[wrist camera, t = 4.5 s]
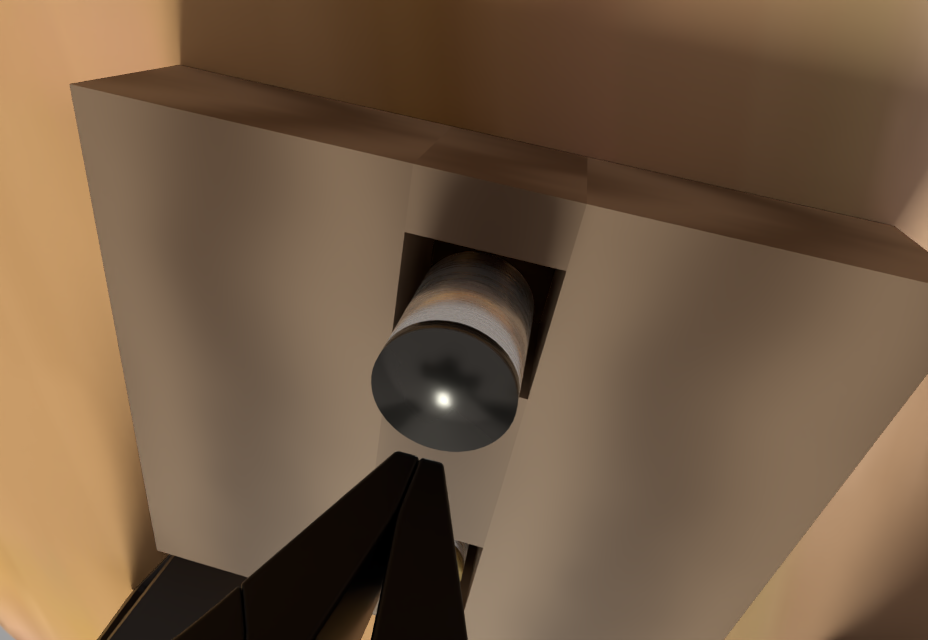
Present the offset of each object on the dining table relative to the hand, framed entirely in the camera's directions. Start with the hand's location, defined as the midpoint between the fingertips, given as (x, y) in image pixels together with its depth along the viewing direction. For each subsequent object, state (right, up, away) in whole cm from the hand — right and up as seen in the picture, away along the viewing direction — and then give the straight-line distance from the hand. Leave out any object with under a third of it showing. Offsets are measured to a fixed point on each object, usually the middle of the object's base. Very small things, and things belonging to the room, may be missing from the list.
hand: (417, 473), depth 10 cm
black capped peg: (+1, +3, +5) cm, 6 cm away
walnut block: (+1, 0, +10) cm, 10 cm away
